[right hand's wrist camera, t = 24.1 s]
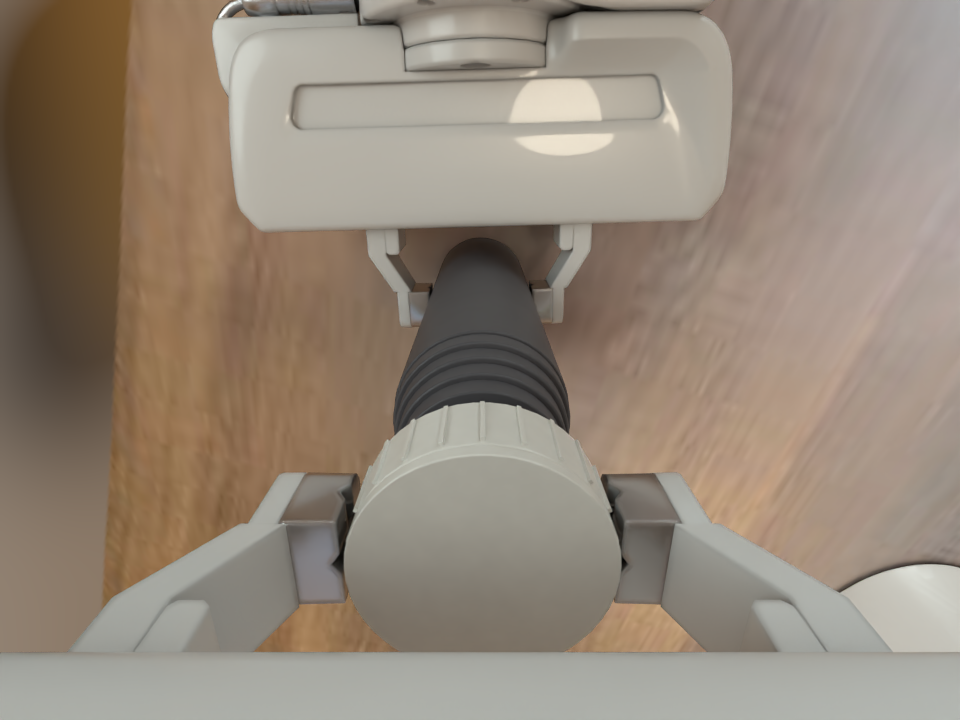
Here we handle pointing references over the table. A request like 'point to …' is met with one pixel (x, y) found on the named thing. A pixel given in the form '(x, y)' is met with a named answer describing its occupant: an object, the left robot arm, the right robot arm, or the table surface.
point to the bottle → (481, 341)
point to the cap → (482, 535)
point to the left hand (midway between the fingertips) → (482, 322)
